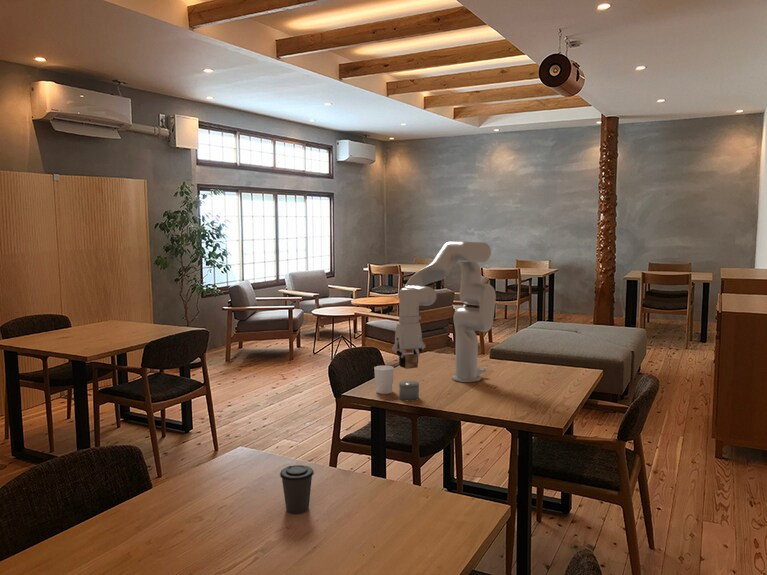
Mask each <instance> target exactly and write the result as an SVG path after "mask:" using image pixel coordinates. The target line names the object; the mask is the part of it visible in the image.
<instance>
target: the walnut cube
mask: <svg viewBox="0 0 767 575" xmlns="http://www.w3.org/2000/svg"><path fill="white" fill-rule="evenodd" d="M404 357H405V368H404V369H406V370H407V369H409V370H410V369H417V368H419V367H418V366H419V365H418V364H419V356H418V355H417V354H414V353H413V352H405V354H404Z"/></svg>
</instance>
